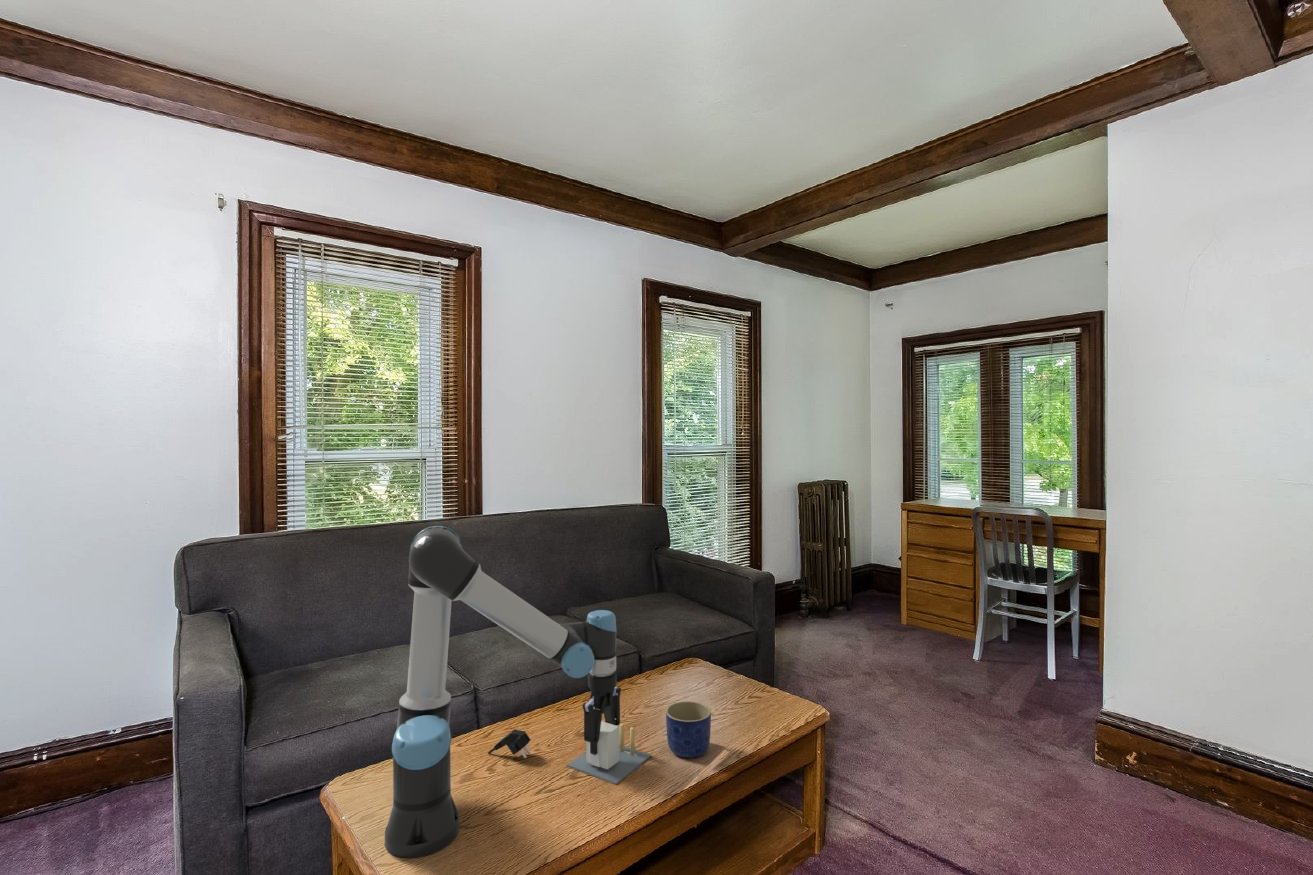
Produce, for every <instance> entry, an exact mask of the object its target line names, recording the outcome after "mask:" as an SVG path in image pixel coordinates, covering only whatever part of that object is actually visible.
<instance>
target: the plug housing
mask: <svg viewBox="0 0 1313 875" xmlns="http://www.w3.org/2000/svg"><path fill="white" fill-rule="evenodd" d="M599 740H600V741H601V767H602V768H605V769H607V770H608V769H609V768H610V767H612V766H613V765H614V764H616V763H617V762H618V761H619V744H620V725H617V726H616V725H613V724H609V723H606V722H605V721H603V720H601V727H600V734H599ZM585 742H586V744H585V745H586V746H585V747H586V748H585V749H586V750H585V752H586V762H588V763H591V753H590V742H587V741H585Z"/></svg>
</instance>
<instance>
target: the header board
mask: <svg viewBox="0 0 1313 875" xmlns="http://www.w3.org/2000/svg"><path fill="white" fill-rule="evenodd" d="M635 737H636V736H635V727H633V726H631V727H630V728H629V741H630V742H629V743H630V744H629V746H626V745H625V725H624V723H620V724H619V761H618V762H617V763H616V764H614V765H613V766H612V767H610V768H609V769H608V770H607V769H605V768H602V767H597V766H594V765H591V763H588V762H586V751H585V752H583V753H581V755H579V756H578V757H576V758H575V759H574V760H572V761H570V762H569V763H568V764H566V767H567V768H570V769H573V770H576V771H578V772H581V773H584V774H586V775H589V776H592V777H594V778H596V779H600V780H602V781H605V782H607V783H610V784H613V785H618V784H619V783H620V782H622V781H623V780H624V779H625V778H627V777H628V776H629V775H630V774H631V773H632V772H634V771H635V770H637V768H639V767H641V765H643V764H644V763H645V762H646V761H647V760H649V759H650V758H651V757H652V754H650V753H648V752H644V751H641V750H638V749H636V748H635V746H636V744H635Z"/></svg>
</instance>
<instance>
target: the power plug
mask: <svg viewBox="0 0 1313 875" xmlns="http://www.w3.org/2000/svg"><path fill="white" fill-rule="evenodd" d="M531 740H532V739H531V738H530V736H529V735H528V734H527V732H526V731H525V730H518V729H515V728H514V729H513V730H511V731H510V732H509V733H508V734H506V735H505V736H504V737H503V738H501V739H500V741H498V742H497V743H496V744H495V745H494V747H493V748H491V749H490V750H488V752H487V754H488V755H490V754H492V753H494V752H495V751H498V750H500V749H502V748H503V747H505V746H507V748H508V749H509V751H510V752H511V754H512V755H513V756H514V755H516V754H517V753H520V754H521V755H522V757H523V759H527V757H528V756H527V755H526V753H527V754H529V755H530V754H531V750H530V749H529V747H528V746H527V745H529V743H530V741H531ZM523 749H525V751H526V753H525V752H524V750H523Z"/></svg>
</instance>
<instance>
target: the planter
mask: <svg viewBox="0 0 1313 875" xmlns="http://www.w3.org/2000/svg"><path fill="white" fill-rule="evenodd" d="M711 721H712V710H711V708H710V707H709V706H707V705H705V704H703V703H702V702H699V701H690V700H689V701H688V700H685V701H678V702H674V703H672V704H670V705H669V706H667V708H666V709H665V724H666V726H665V727H666V738H667V739H666V740H667V745H668V747H669V750H670V751H671V752H672V753H673V754H674V755H676V756H679V757H680V758H685V759H687V758H688V759H694V758H698V757H700V756H702V755H703V756H704V754H705V753H706V752H707V751H708V750H709V747H710V741H711V730H712V729H711V728H712V727H711V725H712V724H711V723H712V722H711Z"/></svg>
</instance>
